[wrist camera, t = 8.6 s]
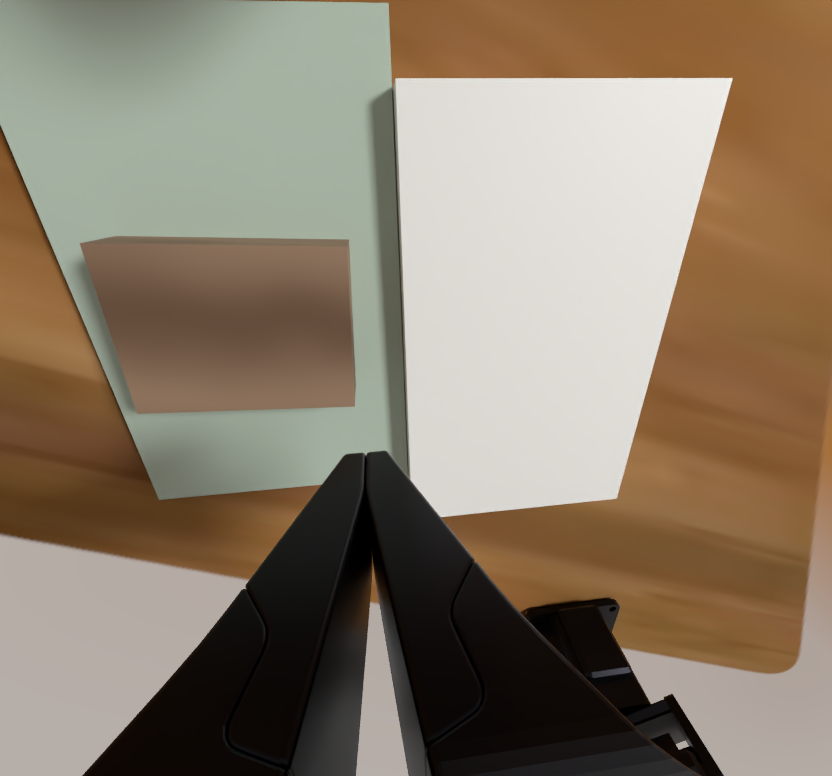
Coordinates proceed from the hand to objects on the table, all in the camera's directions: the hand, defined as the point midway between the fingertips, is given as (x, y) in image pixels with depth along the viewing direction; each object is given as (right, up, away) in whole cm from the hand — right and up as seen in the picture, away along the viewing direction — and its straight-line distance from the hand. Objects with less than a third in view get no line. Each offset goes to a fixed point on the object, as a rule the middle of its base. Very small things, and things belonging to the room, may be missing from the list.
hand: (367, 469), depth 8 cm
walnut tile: (-6, +4, +8) cm, 10 cm away
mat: (-6, +5, +8) cm, 11 cm away
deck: (+6, +4, +10) cm, 12 cm away
